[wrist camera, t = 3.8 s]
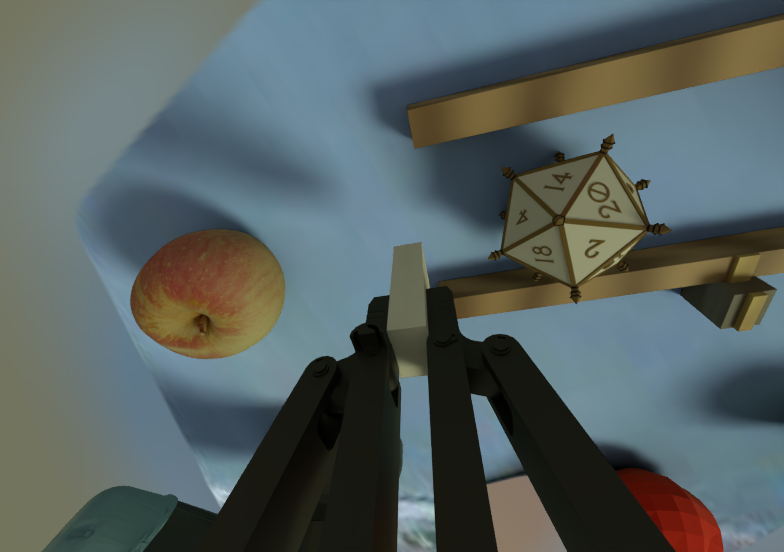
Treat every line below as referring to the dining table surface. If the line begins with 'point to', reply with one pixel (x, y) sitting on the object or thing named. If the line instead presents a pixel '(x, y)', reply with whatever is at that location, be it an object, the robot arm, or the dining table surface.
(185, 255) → the apple
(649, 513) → the tomato
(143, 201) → the dining table surface
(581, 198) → the game die
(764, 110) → the dining table surface
